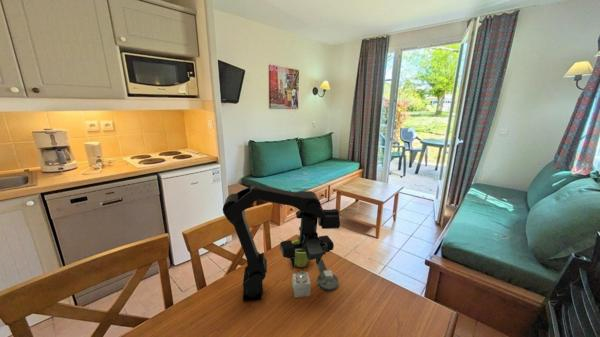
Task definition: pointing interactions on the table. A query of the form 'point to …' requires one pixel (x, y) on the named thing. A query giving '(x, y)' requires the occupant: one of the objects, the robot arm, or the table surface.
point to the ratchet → (326, 278)
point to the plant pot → (300, 256)
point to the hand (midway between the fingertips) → (305, 265)
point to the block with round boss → (301, 284)
